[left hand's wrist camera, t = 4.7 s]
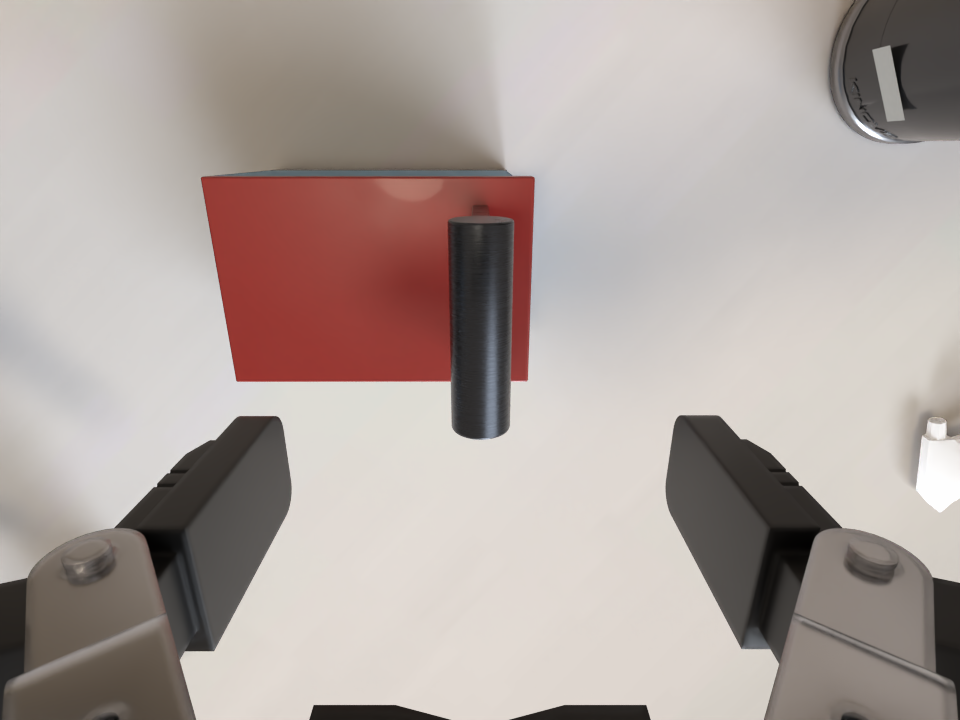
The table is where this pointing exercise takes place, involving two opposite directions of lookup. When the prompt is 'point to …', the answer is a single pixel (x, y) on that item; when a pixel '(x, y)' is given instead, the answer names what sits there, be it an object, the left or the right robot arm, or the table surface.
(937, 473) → the wireless presentation dongle
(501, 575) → the table surface
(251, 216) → the lid
